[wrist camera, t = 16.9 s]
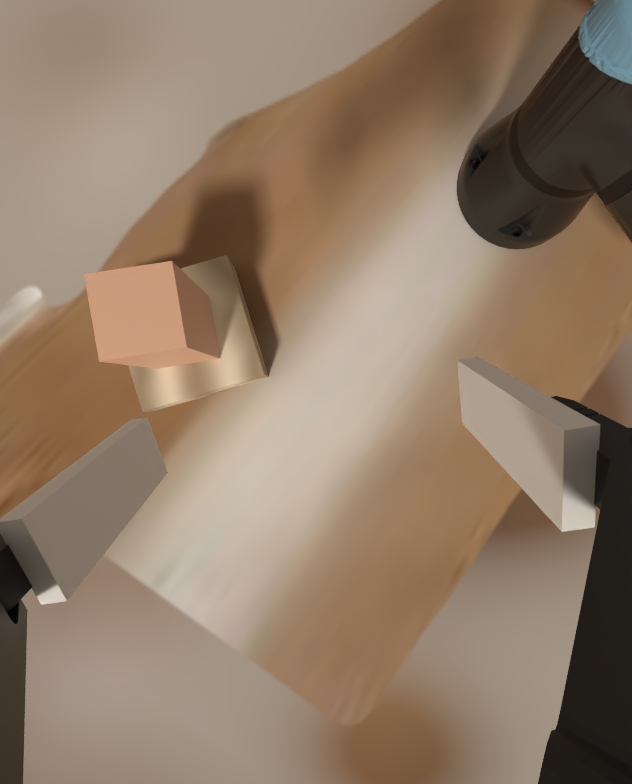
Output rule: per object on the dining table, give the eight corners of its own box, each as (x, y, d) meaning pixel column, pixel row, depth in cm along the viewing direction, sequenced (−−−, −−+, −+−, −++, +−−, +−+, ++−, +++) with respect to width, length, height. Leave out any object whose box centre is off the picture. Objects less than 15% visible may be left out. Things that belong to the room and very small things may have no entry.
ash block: (236, 270, 45) (226, 254, 40) (268, 376, 45) (263, 374, 40) (127, 302, 44) (105, 290, 39) (161, 409, 44) (142, 411, 39)
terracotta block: (209, 296, 39) (172, 260, 28) (219, 358, 40) (186, 347, 29) (146, 306, 39) (84, 274, 28) (157, 368, 39) (99, 361, 28)
